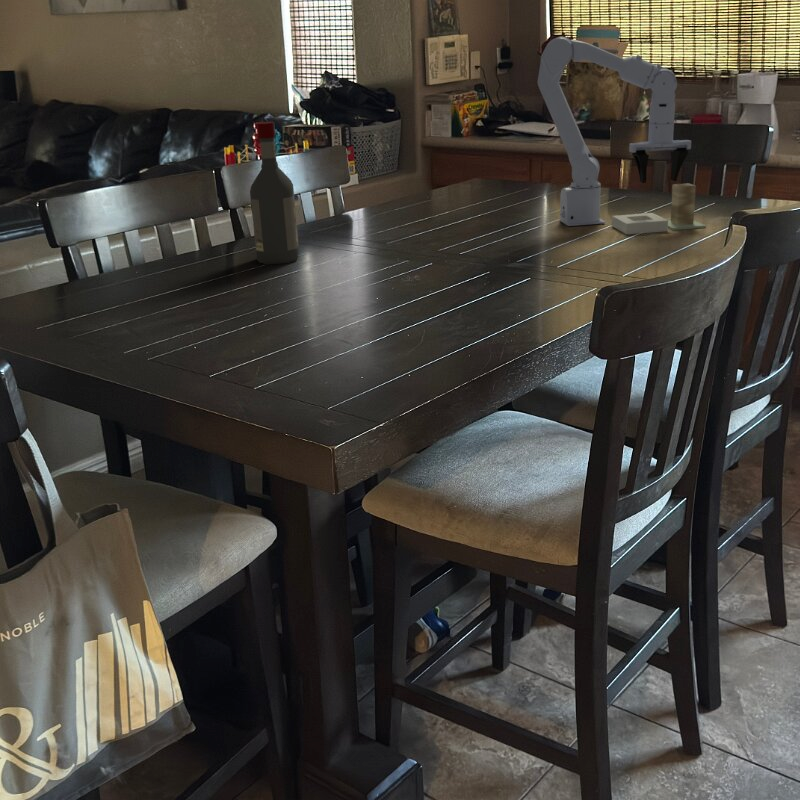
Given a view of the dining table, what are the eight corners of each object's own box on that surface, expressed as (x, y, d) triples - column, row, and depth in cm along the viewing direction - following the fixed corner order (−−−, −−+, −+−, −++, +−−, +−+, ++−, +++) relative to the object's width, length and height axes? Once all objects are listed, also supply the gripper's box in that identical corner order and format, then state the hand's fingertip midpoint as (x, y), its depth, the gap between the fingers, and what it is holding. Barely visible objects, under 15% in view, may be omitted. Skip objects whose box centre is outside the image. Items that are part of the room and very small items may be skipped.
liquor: (299, 253, 228) (288, 119, 217) (297, 262, 220) (285, 123, 209) (260, 256, 228) (246, 121, 217) (256, 265, 220) (241, 126, 209)
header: (626, 234, 230) (626, 223, 229) (611, 226, 239) (612, 215, 238) (667, 231, 231) (668, 220, 230) (651, 223, 240) (652, 212, 239)
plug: (677, 225, 234) (679, 187, 231) (670, 222, 238) (672, 184, 234) (693, 224, 234) (695, 185, 231) (686, 221, 238) (688, 183, 235)
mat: (672, 230, 232) (673, 228, 231) (658, 223, 240) (658, 220, 240) (705, 227, 232) (705, 225, 232) (690, 220, 241) (690, 218, 241)
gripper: (637, 126, 228) (634, 185, 233) (697, 122, 230) (694, 182, 235) (627, 123, 235) (624, 181, 240) (686, 120, 236) (682, 177, 241)
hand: (658, 181), depth 238 cm, fingers open, 7 cm apart
